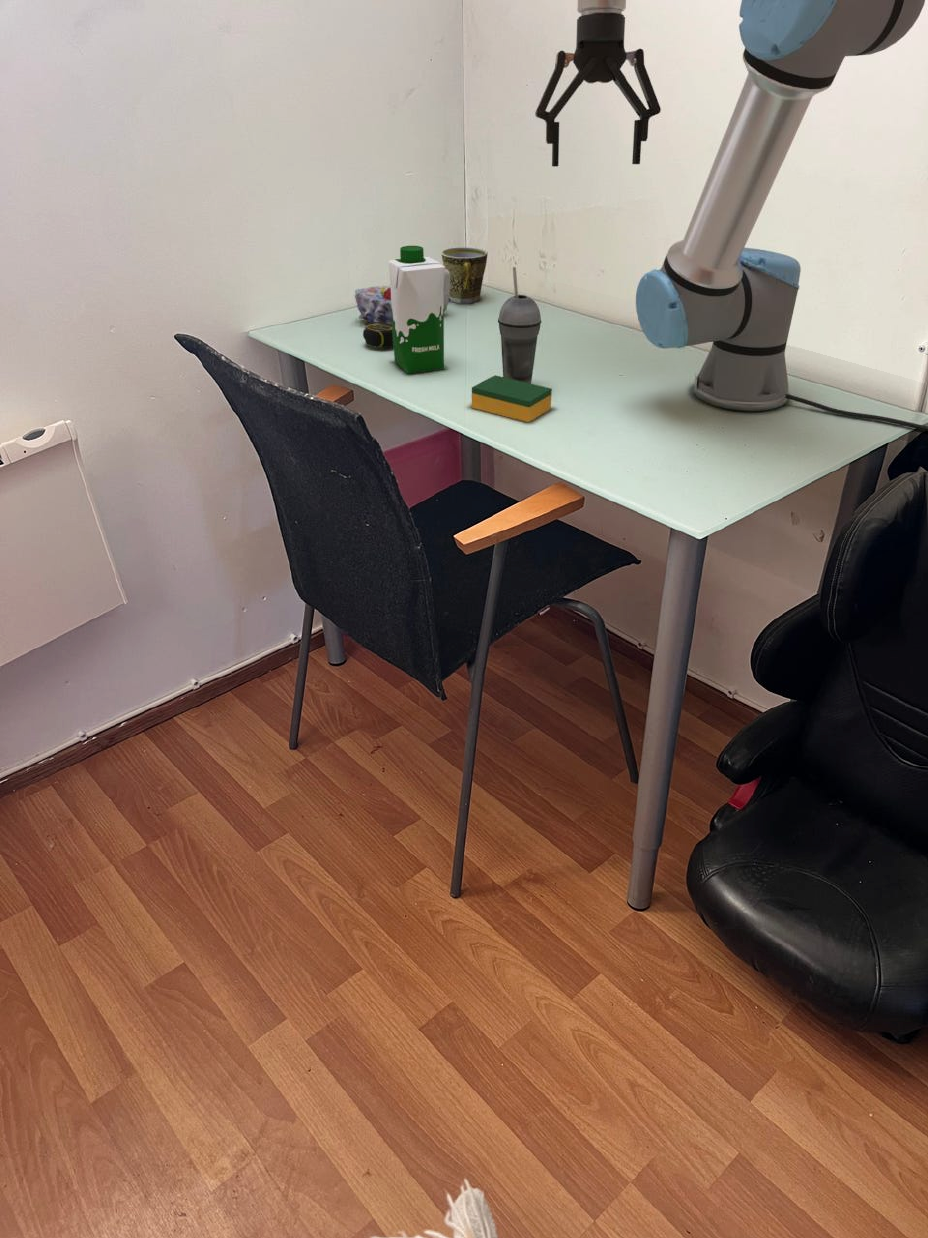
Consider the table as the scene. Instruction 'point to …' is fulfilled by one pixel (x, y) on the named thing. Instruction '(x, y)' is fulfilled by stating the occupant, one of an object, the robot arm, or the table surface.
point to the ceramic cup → (465, 273)
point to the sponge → (511, 398)
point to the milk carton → (417, 311)
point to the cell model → (386, 301)
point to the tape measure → (378, 335)
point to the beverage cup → (519, 335)
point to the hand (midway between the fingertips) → (595, 165)
